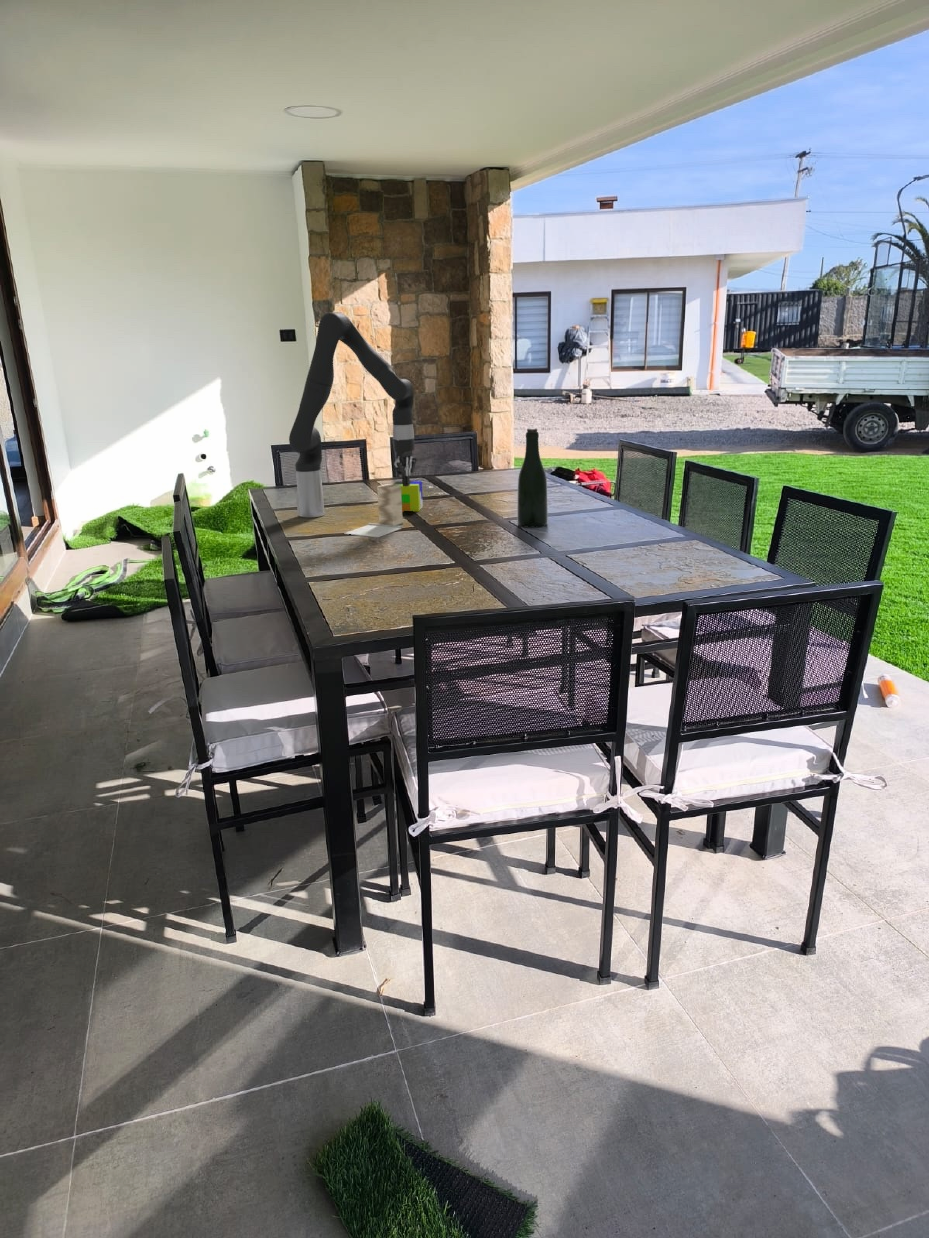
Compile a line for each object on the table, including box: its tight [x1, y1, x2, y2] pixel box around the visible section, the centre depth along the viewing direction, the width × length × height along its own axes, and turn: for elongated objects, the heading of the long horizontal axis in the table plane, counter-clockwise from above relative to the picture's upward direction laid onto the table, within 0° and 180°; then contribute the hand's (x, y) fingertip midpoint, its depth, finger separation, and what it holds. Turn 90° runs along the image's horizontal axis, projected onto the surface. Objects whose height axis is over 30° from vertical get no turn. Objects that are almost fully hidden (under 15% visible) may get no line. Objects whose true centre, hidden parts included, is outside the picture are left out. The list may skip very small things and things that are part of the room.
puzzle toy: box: [393, 480, 424, 513], centre depth 324 cm, size 10×10×10 cm
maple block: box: [376, 483, 404, 526], centre depth 296 cm, size 6×6×14 cm
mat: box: [343, 522, 403, 538], centre depth 289 cm, size 14×15×1 cm
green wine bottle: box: [516, 427, 548, 528], centre depth 286 cm, size 10×10×33 cm
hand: (406, 486), depth 304 cm, fingers closed
